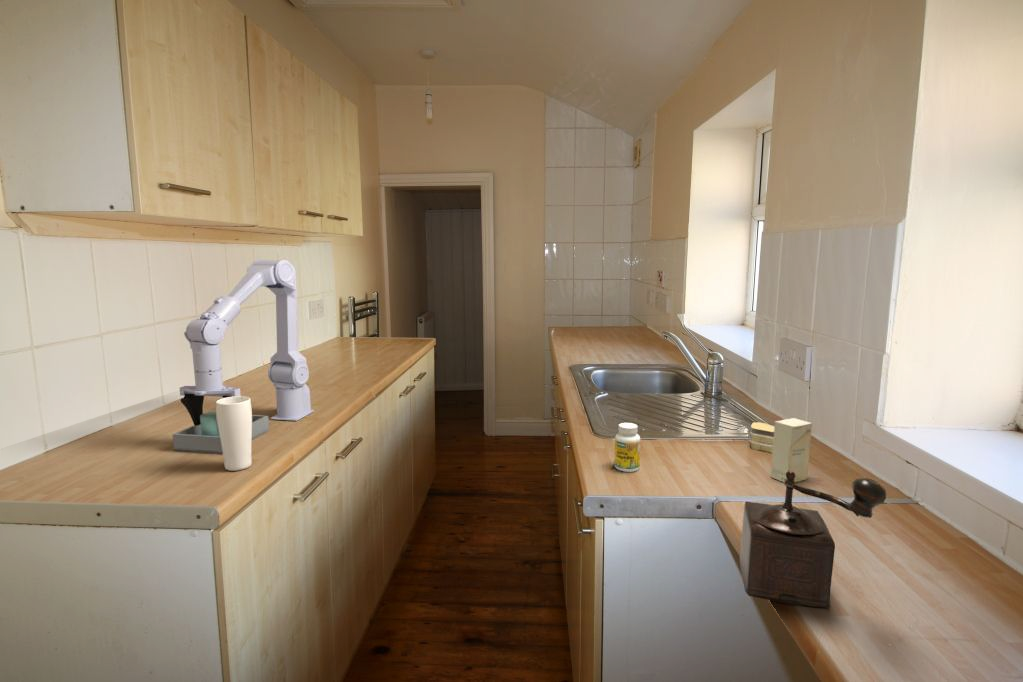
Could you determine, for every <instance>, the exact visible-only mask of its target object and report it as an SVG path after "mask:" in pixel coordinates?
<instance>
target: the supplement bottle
mask: <svg viewBox="0 0 1023 682" xmlns="http://www.w3.org/2000/svg"><path fill="white" fill-rule="evenodd" d="M638 427H639V426H638V425H637V424H636V423H632V422H621V423H619V424H618V432H617V434H615V438H614V439H615V440H614V467H615V469H617V470H618V471H620V472H626V473H631V472H637V471H638V470H639V469H640V463H641V462H640V461H641V436H640V435H639V434H638Z"/></svg>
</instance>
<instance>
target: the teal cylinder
mask: <svg viewBox="0 0 1023 682" xmlns="http://www.w3.org/2000/svg"><path fill="white" fill-rule="evenodd" d="M200 422H201V433H202V435H205V436H220V435H219V430H218V424H217V417H216V411H210V412H209V411H208V412H205V413H203V414H202V415H200Z"/></svg>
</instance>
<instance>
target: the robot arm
mask: <svg viewBox="0 0 1023 682" xmlns="http://www.w3.org/2000/svg"><path fill="white" fill-rule="evenodd" d="M246 272H247V273H246V274H245V275H244V276H243V277H242V278H241V280H240V281H239V282H238V283H237V284H236V286H235V287H234V288H233V290H232V291H231V292H230V293H229V294H228V295H227V296H226V295H225V296H224V295H222V296H220V297H215V299H214V300H213V304H212V305H210V307H209V308H207V310H206V311H204V312H202V313H201V315H200V316H199V318H196V319H193V320H190V322H189V323H188V324H187V326H186V329H185V331H184V332H183V333H184V334H183V335H184V337H185V339H186V340H187V342H189V344H190V345H189V346H190V347H189V348H190V349H191V351H192V352H191V353H192V362H193V373H194V375H193V376H194V383H195V385H184V386H180V387H179V396H181V397H182V396H183V398H181V399H180V402H181V404H182V405H183V407H185V408H186V410H187V412H188V415H189V416H190V419H191V421H192V423H193V425H194V426H198V425H200V424H201V422H200V415H202V414H204V413H203V412H204V411H203V410H204V409H203V407H204V399H205V397H217V398H218V397H219V398H220V397H221V398H220V399H222V398H227V397H234V396H242V395H241V388H238V387H232V386H226V385H224V380H223V368H222V357H221V343H220V342H222V341H223V340H224V339H225V335H226V330H227V329H228V327H229V325H230V324H232V322H233V321H234V320H235V318H237V317H238V316H239V315H240V313H241V309H242V308H241V305H242V304H243V303H244V302H245V301H247V300H248V298H250V296H252V295H253V294H254V293H255V292H256V291H257V290H258V289H259V288H261V287H265V288H266V289H269V290H270V291H271V292H272V293H273V294H274V295H275V311H276V313H275V314H276V317H275V318H276V320H275V321H276V352H275V353H274V354H273V355H272V356H271V357H270V363H269V367H268V371H267V376H268V379H269V381H270V382H271V383H272V384H273V387H275V397H276V398H275V399H276V412H277V413H276V414H275V415H274V416H271V417H270V420H275V421H295V422H297V421H299V420H301V419H303V418H304V417H306V416H308V415H310V414H312V413H313V412H315V411H314V409H312V404H311V390H310V388H309V386H308V385H307V384H306V383H307V382H308V380H309V376H310V371H309V367H308V363H307V358H306V357H305V356H304V355H303V354H302V353H301V352H300V351H299V326H298V323H299V316H298V312H299V311H298V287H297V286H298V285H297V282H296V281H297V276H296V275H297V274H296V273H297V271H296V268H295V266H294V265H293V264H292V263H291V262H290V261H289V260H286V259H280V260H277V259H276V260H273V259H271V260H270V259H269V260H266V259H265V260H263V259H256V260H254V261H253V262H252V263H251V265H249V266H247V268H246ZM217 400H218V399H217ZM217 400H216V401H217ZM216 401H215V402H216Z"/></svg>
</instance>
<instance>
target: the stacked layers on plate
mask: <svg viewBox="0 0 1023 682" xmlns="http://www.w3.org/2000/svg"><path fill="white" fill-rule="evenodd" d="M750 427H751V430H750V434H751V436H750V438H749V442H750V443H751V444H750V448H751V449H752V450H755V451H762V452H763V451H764V452H767V453H771V454H772V451H773V439H774V427H775V425H771V424H768V423H764V422H760V421H759V422H758V421H757V422H752V423H751V426H750Z"/></svg>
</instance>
